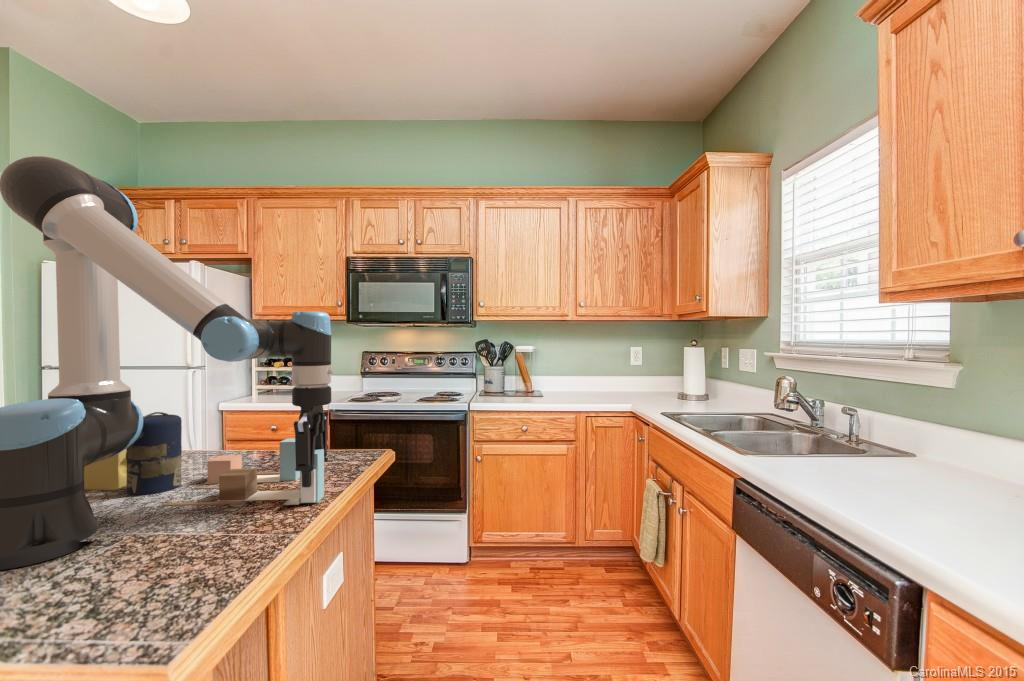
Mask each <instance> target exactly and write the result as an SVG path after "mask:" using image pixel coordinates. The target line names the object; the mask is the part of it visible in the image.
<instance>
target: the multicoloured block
mask: <svg viewBox="0 0 1024 681" xmlns="http://www.w3.org/2000/svg"><path fill="white" fill-rule="evenodd" d="M324 458H325V457H324V449H315V455H314V469H316V501H315V502H305V503H304V504H310V503H311V504H317V503H319V502H321V501H322V499H323V498H324V497H325V462H324ZM272 500H273V501H275V500H276V501H277V500H286V501H285V502H284V503H282V504H281V506H293V505H294V506H296V505H297V506H298V505H300V504H302V503H301V471H300V477H299V489H294V490H293V489H290V490H257V492H256V493H255V494H253V495H252V496H250V497H249V498H247V499H246V500H225V501H240V502H242V501H272ZM216 501H219V499H216Z"/></svg>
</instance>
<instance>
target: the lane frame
mask: <svg viewBox="0 0 1024 681" xmlns="http://www.w3.org/2000/svg"><path fill="white" fill-rule="evenodd" d="M258 475H280V471H266V472H265V471H263V472H258V471H257V476H258ZM263 487H264V484H257V489H258V488H263ZM217 489H218V490H219V485H215V486H214V485H210V486H196V487H194V488H193V490H217ZM239 503H241V501H217V500H215V501H191V502H190V501H188V502H165V503H162V507H176V506H177V507H178V506H181V507H182V506H207V505H209V506H210V505H238V504H239Z"/></svg>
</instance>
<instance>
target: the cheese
mask: <svg viewBox="0 0 1024 681" xmlns="http://www.w3.org/2000/svg"><path fill="white" fill-rule="evenodd" d="M126 451H127V449H125V450H123V451H122V452H120V453H119V454H117V455H115V456H113V457H110V458H108V459H105V460H100V461H97V462H95V463H92V464H90V465H87V466H85V467H84V489H85V490H86V491H87V490H91V491H92V490H93V491H94V490H95V491H115V490H118V489H120V488H123V487H125V486H127V472H126V471H127V459H126Z"/></svg>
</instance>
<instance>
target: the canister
mask: <svg viewBox="0 0 1024 681" xmlns="http://www.w3.org/2000/svg"><path fill="white" fill-rule="evenodd" d="M182 420H183V419H182V417H181V416H180V415H177V414H169V413H167V412H164V411H163V412H162V411H161V412H160V411H155V412H151V413H149V414H147V415H144V416H143V428H142V431H141V433H140V435H139V437H138V438H137V440H136V441H135V442H134V443H133V444H132V445H131V446H129V447H128V448H127V451H126V459H127V471H126V472H127V485H126V494H127V495H129V496H134V497H135V496H136V497H139V496H150V495H157V494H161V493H166V492H170V491H172V490H176V489H177V488H180V487H181V486H182V458H183V456H182V455H183V454H182V450H183V448H182V447H183V446H182V432H183V431H182V428H183V427H182V426H183V425H182V423H183V422H182Z"/></svg>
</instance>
